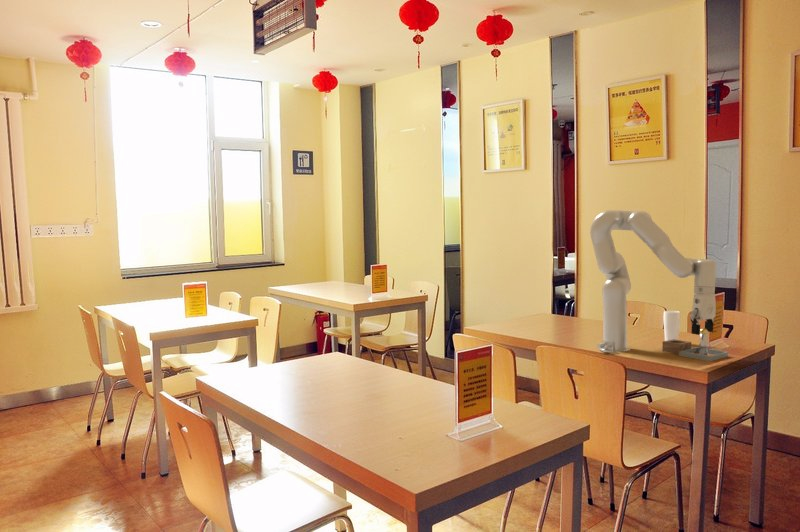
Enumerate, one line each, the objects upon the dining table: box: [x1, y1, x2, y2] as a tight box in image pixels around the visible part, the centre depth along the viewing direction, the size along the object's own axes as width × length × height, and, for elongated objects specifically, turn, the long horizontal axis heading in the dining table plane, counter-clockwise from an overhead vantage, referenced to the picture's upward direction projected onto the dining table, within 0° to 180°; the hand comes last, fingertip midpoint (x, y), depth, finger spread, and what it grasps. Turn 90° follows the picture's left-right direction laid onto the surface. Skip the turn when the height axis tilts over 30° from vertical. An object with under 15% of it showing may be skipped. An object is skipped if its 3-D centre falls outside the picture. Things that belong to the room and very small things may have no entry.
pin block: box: [661, 339, 692, 355], centre depth 266 cm, size 8×8×5 cm
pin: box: [698, 327, 709, 356], centre depth 256 cm, size 3×3×12 cm
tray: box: [678, 346, 729, 362], centre depth 256 cm, size 13×13×3 cm
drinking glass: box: [662, 310, 681, 341], centre depth 282 cm, size 7×7×15 cm
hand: (702, 332), depth 256 cm, fingers open, 9 cm apart
